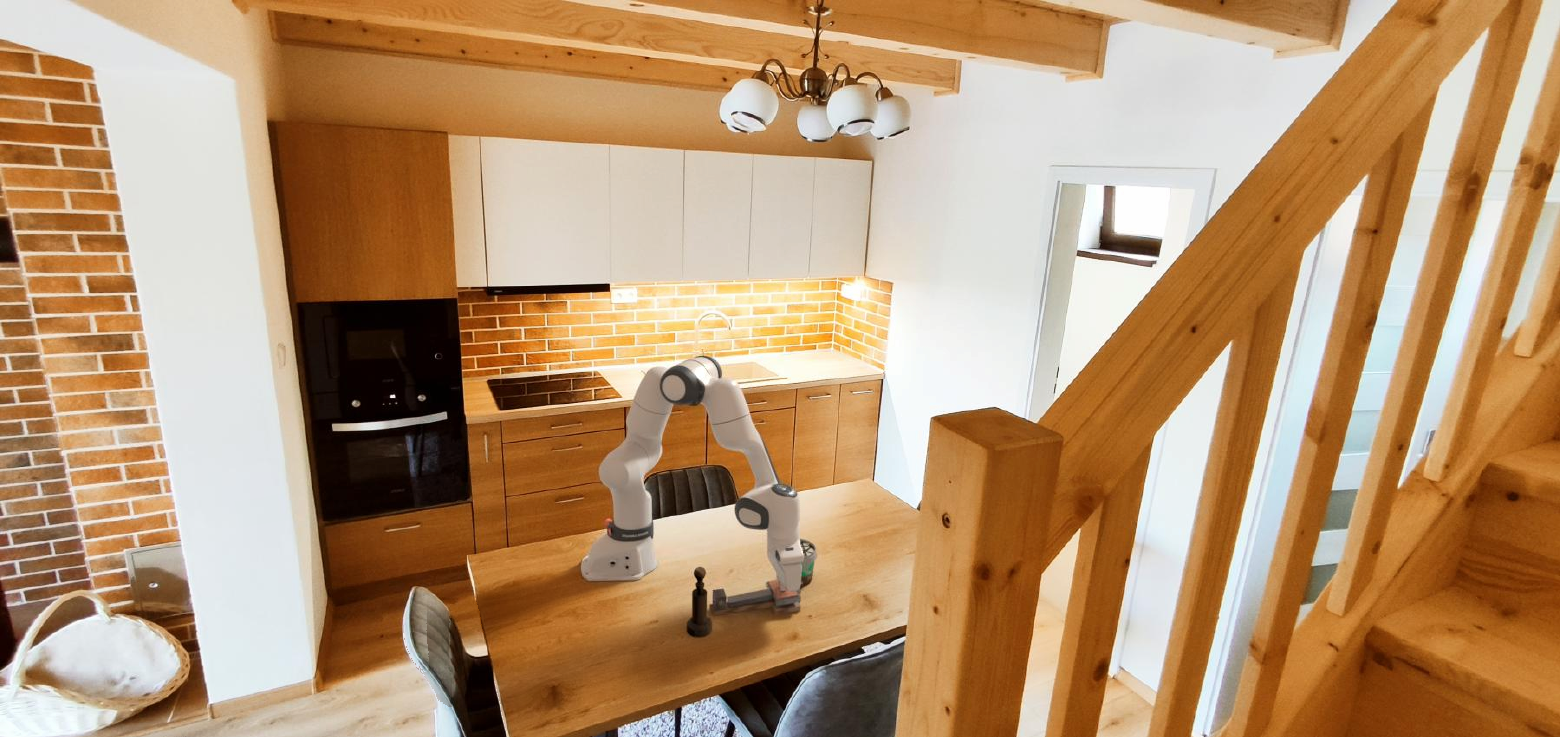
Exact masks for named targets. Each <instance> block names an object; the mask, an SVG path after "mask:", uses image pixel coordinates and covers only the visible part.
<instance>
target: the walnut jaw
mask: <svg viewBox="0 0 1560 737" xmlns="http://www.w3.org/2000/svg"><path fill="white" fill-rule="evenodd" d="M727 597H728V596H727V593H726V591H725V589H724V588H717V589H712V603H709V604H708V606H709V607H708V608H709V609H708V610H709V613H710V616H716V615H717V616H718V615H725V614H733V613H740V612H741V613H742V612H747V611H754V610H762V609H768V608H772V610H773V611H774V614H775V615H780V614H781V615H782V614H787V613H795V612H801V605H800V604H801V601H800V602H795V603H790V604H785V605H780V606H776V605H775V603H774V601H773V599H771V600H766V601H761V602H756V603H751V604H746V605H741V606H736V607H731V608H730V607H729V604H728V602H727Z"/></svg>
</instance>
